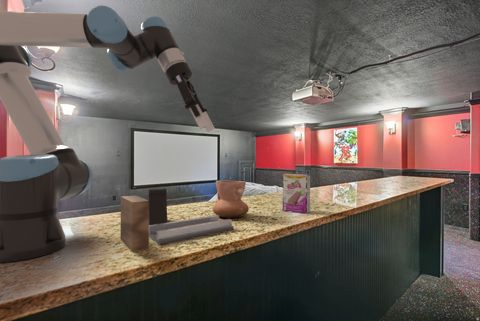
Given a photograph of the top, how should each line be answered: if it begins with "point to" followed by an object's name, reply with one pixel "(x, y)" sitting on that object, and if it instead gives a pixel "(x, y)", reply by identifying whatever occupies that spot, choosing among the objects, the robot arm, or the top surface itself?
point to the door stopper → (157, 206)
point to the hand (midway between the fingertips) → (208, 129)
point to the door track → (188, 229)
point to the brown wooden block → (135, 222)
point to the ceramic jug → (230, 199)
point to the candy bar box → (296, 193)
